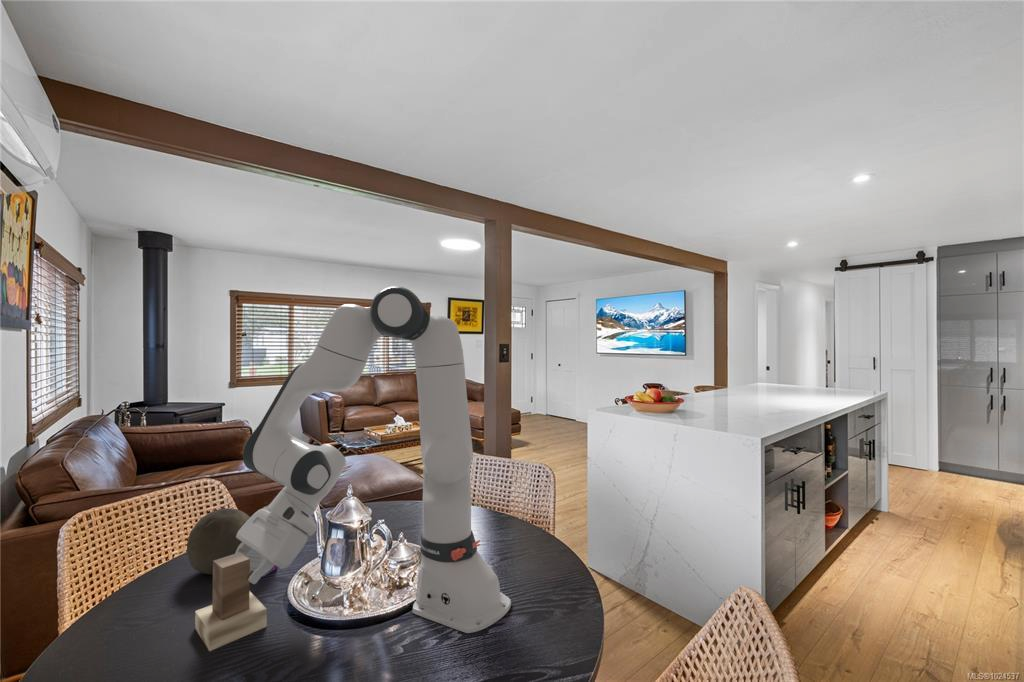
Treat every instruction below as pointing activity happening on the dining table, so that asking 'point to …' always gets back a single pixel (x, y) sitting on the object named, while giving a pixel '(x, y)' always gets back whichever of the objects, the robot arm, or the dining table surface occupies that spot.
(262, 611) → the beech block
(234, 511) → the cantaloupe
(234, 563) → the walnut block
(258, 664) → the dining table surface
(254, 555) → the supplement box
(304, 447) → the robot arm
